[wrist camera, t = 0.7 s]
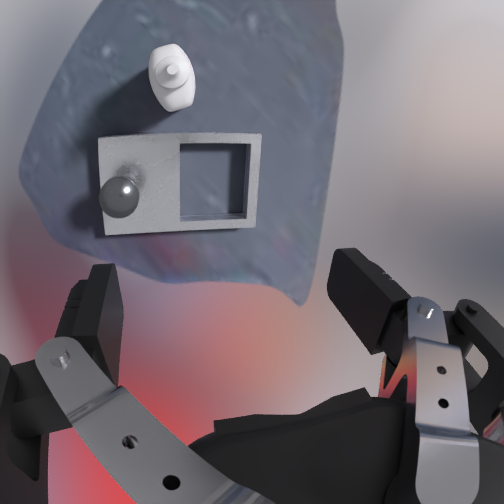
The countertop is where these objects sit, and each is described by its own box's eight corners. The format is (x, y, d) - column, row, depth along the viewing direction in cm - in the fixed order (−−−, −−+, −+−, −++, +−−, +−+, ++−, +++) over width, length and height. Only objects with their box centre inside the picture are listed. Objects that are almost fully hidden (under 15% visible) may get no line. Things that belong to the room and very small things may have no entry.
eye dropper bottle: (143, 106, 27) (127, 105, 17) (157, 54, 25) (151, 24, 14) (185, 114, 28) (194, 117, 18) (199, 63, 26) (218, 37, 16)
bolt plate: (102, 136, 27) (87, 143, 22) (256, 132, 31) (275, 138, 26) (108, 228, 31) (98, 253, 26) (250, 220, 35) (266, 243, 30)
